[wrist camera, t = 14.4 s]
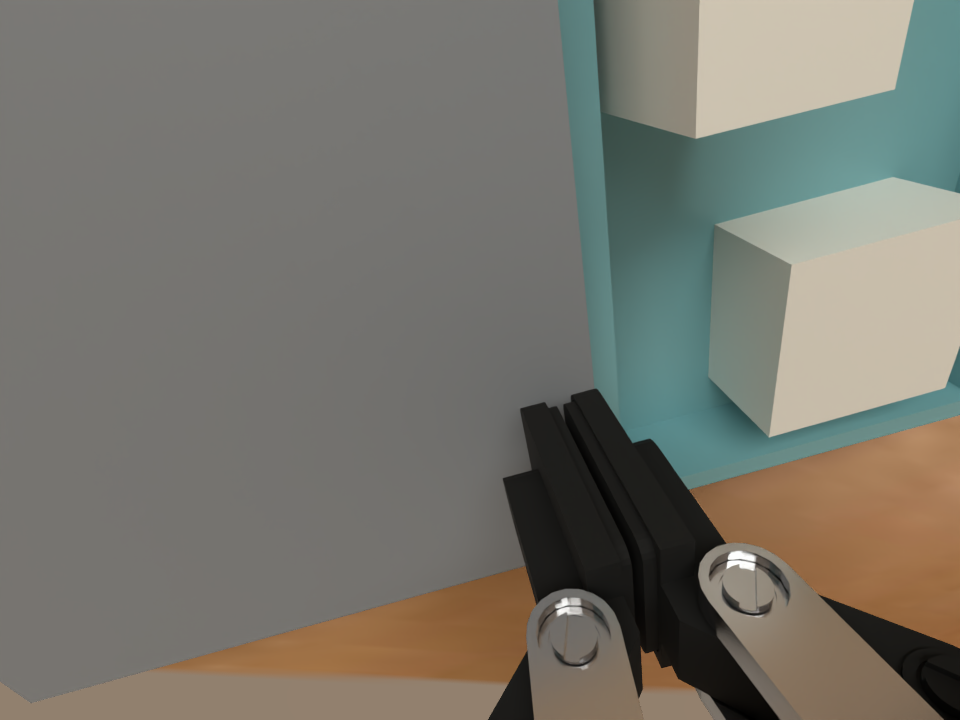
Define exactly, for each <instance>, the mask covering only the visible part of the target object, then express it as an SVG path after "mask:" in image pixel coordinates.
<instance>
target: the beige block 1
mask: <svg viewBox="0 0 960 720" xmlns="http://www.w3.org/2000/svg"><path fill="white" fill-rule="evenodd" d="M593 3H594V19H595V34H596V50H597V66H598V81H599V97H600V112H603V113H606V114H610V115H613V116H617V117H620V118H624V119H627V120H631V121H634V122H638V123H642V124H645V125H649V126H652V127H656V128H659V129H663V130H666V131H670V132H673V133H677V134H680V135H684V136H687V137H691V138H695V139H697V138H701V137H705V136H709V135H713V134H717V133H721V132H725V131H729V130H733V129H737V128H741V127H745V126H749V125H753V124H757V123H761V122H765V121H769V120H773V119H777V118H781V117H785V116H789V115H793V114H797V113H801V112H805V111H809V110H813V109H818V108H822V107H826V106H830V105H834V104H838V103H842V102H846V101H850V100H854V99H858V98H862V97H866V96H870V95H874V94H878V93H882V92H886V91H890V90H894V89H895V86H896V82H897V77H898V72H899V68H900V63H901V59H902V54H903V49H904V45H905V40H906V35H907V31H908V26H909V21H910V17H911V12H912V8H913V3H914V0H593Z"/></svg>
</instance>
